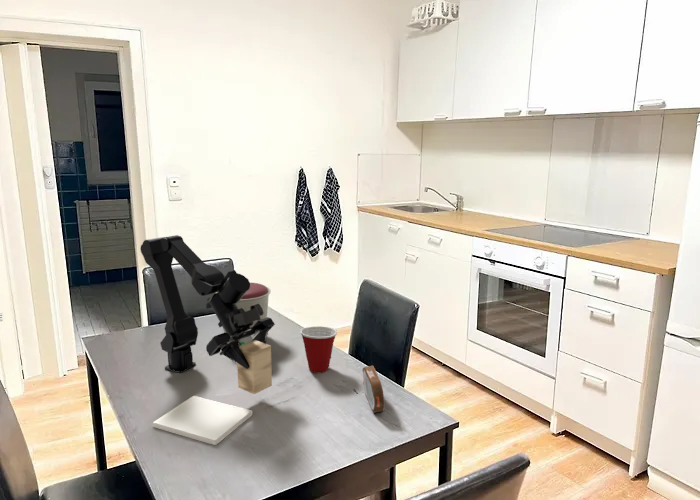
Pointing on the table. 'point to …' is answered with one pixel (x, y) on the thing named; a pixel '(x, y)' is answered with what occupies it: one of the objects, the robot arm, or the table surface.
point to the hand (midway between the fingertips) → (258, 363)
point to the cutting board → (203, 419)
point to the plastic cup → (318, 347)
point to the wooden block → (255, 367)
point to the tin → (373, 389)
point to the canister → (254, 299)
